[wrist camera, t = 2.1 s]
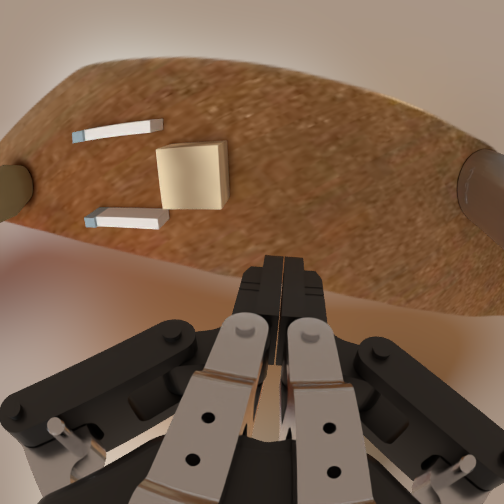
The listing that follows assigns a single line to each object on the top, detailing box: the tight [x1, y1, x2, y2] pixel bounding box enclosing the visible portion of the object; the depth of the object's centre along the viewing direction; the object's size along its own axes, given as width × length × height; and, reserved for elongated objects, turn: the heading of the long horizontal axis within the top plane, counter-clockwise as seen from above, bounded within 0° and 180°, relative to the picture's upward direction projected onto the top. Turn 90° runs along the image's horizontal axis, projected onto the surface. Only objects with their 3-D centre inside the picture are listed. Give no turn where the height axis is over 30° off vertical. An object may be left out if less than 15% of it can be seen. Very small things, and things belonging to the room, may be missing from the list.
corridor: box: [72, 119, 169, 229], centre depth 28 cm, size 10×11×3 cm
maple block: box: [156, 141, 230, 209], centre depth 27 cm, size 6×6×4 cm
